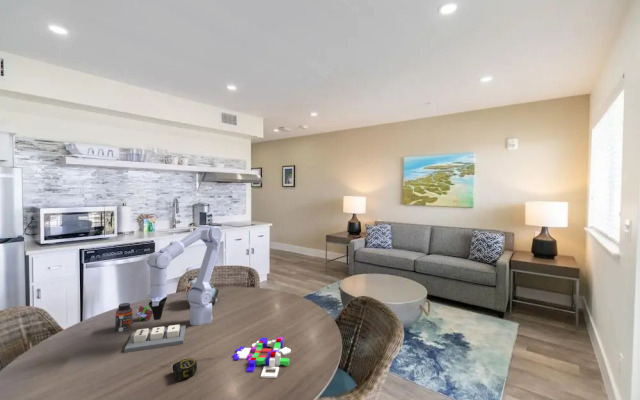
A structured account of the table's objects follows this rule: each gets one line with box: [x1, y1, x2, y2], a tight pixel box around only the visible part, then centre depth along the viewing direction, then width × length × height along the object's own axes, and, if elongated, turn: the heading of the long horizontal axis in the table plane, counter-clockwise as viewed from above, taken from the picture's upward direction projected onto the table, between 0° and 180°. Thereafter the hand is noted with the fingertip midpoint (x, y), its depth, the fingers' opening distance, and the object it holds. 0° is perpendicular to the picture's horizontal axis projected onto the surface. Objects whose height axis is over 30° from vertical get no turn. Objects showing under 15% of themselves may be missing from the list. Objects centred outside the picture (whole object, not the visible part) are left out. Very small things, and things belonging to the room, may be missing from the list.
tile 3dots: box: [134, 327, 150, 343], centre depth 113 cm, size 4×6×4 cm, turn 21°
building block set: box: [232, 336, 292, 379], centre depth 107 cm, size 25×20×4 cm
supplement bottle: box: [114, 302, 133, 333], centre depth 123 cm, size 6×6×11 cm
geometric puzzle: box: [135, 305, 153, 322], centre depth 135 cm, size 7×7×8 cm
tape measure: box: [172, 358, 198, 381], centre depth 95 cm, size 7×7×4 cm
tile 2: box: [166, 323, 181, 339], centre depth 117 cm, size 4×6×4 cm, turn 21°
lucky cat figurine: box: [185, 276, 219, 306], centre depth 157 cm, size 17×14×16 cm
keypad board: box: [123, 324, 186, 353], centre depth 115 cm, size 19×14×2 cm
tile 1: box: [150, 326, 166, 341], centre depth 115 cm, size 4×6×4 cm, turn 21°
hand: (157, 318), depth 115 cm, fingers closed
